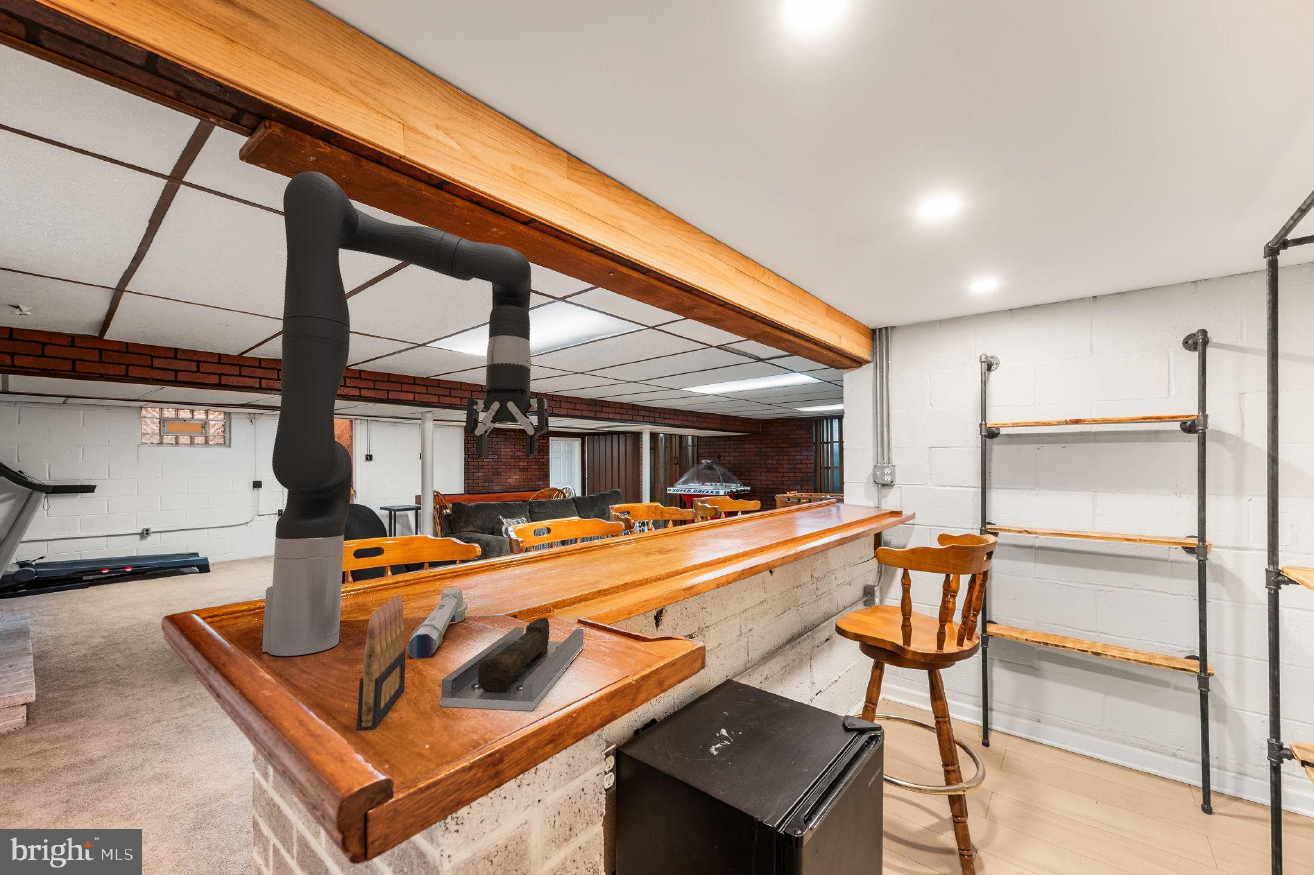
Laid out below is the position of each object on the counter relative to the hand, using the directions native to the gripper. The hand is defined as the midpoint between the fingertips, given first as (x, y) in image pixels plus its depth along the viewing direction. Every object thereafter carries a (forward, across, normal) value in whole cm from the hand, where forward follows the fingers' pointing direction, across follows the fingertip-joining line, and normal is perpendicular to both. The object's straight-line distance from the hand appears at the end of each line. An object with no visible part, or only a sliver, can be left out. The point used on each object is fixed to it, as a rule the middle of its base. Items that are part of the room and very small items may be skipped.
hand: (506, 457), depth 93 cm
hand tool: (+29, +10, -17) cm, 35 cm away
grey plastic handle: (+31, -11, -1) cm, 32 cm away
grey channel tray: (+30, +10, -17) cm, 36 cm away
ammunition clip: (+30, -2, -30) cm, 43 cm away
